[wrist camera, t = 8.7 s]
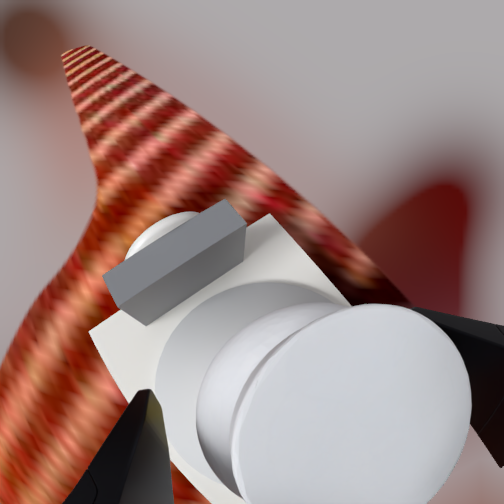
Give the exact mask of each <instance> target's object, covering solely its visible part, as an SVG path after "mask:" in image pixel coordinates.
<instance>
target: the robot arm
mask: <svg viewBox="0 0 504 504" xmlns="http://www.w3.org/2000/svg"><path fill="white" fill-rule="evenodd" d="M410 310H413V311H415V312H417V313H420V314H421V315H423V316H425V317H426V318H428V319H430V320H431V321H432V322H434V323H435V324H436V325H437V326H438V327H439V328H440V329H442V330H443V331H444V332H445V333H446V334H447V336H448V337H449V338H450V339H451V340H452V342H453V343H454V345H455V346H456V348H457V350H458V351H459V353H460V355H461V357H462V359H463V361H464V364H465V367H466V370H467V373H468V376H469V382H470V388H471V400H472V410H471V418H470V424H471V426H472V427H473V429H474V430H475V431H476V433H477V434H478V436H479V437H480V439H481V440H482V442H483V443H484V445H485V446H486V448H487V449H488V451H489V452H490V454H491V455H492V457H493V458H494V460H495V461H496V463H497V464H498V466H499V467H500V468H502V467H503V466H504V326H502V325H497V324H496V325H495V324H492V323H487V322H482V321H478V320H473V319H469V318H464V317H459V316H454V315H450V314H445V313H441V312H436V311H432V310H427V309H423V308H419V307H413V308H411V309H410ZM62 504H174V500H173V490H172V480H171V468H170V455H169V447H168V442H167V436H166V430H165V424H164V418H163V412H162V408H161V405H160V403H159V401H158V400H157V398H156V396H155V394H154V393H153V391H152V390H151V389H142V390H138V391H137V393H136V394H135V396H134V397H133V399H132V400H131V402H130V403H129V405H128V406H127V408H126V409H125V411H124V412H123V414H122V415H121V417H120V418H119V420H118V421H117V423H116V424H115V426H114V428H113V429H112V431H111V432H110V434H109V435H108V437H107V438H106V440H105V441H104V443H103V444H102V446H101V448H100V449H99V451H98V452H97V454H96V455H95V457H94V458H93V460H92V462H91V463H90V465H89V466H88V469H86V471H85V472H84V474H83V476H82V477H81V479H80V480H79V482H78V483H77V485H76V486H75V488H74V489H73V490H72V492H71V493H70V494H69V495H68V497H67V498H66V499H65V501H64V502H63V503H62Z"/></svg>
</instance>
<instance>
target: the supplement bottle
mask: <svg viewBox="0 0 504 504" xmlns="http://www.w3.org/2000/svg"><path fill="white" fill-rule="evenodd" d="M471 410H472V400H471V388H470V382H469V376H468V373H467V370H466V367H465V364H464V361H463V359H462V357H461V355H460V353H459V351H458V350H457V348H456V346H455V345H454V343H453V342H452V340H451V339H450V338H449V337H448V336H447V334H446V333H445V332H444V331H443V330H442V329H440V328H439V327H438V326H437V325H436V324H435V323H434V322H432V321H431V320H430V319H428V318H426V317H425V316H423V315H421V314H420V313H417V312H415V311H413V310H410V309H407V308H404V307H401V306H396V305H388V304H362V305H358V306H353V307H348V306H344V305H339V304H333V303H325V302H312V303H302V304H295V305H291V306H287V307H283V308H280V309H277V310H274V311H272V312H269V313H267V314H265V315H263V316H261V317H259V318H257V319H255V320H254V321H252V322H251V323H249V324H247V325H246V326H245V327H243V328H242V329H241V330H240V331H238V332H237V333H236V334H235V335H233V336H232V337H231V338H230V339H229V340H228V341H227V342H226V343H225V344H224V346H223V347H222V348H221V349H220V351H219V352H218V353H217V355H216V356H215V357H214V359H213V360H212V362H211V364H210V366H209V367H208V369H207V371H206V374H205V376H204V378H203V381H202V383H201V386H200V390H199V394H198V399H197V404H196V429H197V435H198V440H199V443H200V446H201V449H202V452H203V455H204V457H205V459H206V461H207V463H208V464H209V466H210V468H211V469H212V471H213V472H214V473H215V475H216V476H217V477H218V478H219V480H220V481H221V482H222V483H223V484H224V485H225V486H226V487H227V488H228V489H229V490H231V491H232V492H233V493H234V494H236V495H237V496H239V497H240V498H242V499H243V500H244V501H245V502H246V504H427V503H428V502H429V501H430V500H431V499H432V498H433V497H434V496H435V494H436V493H437V492H438V491H439V490H440V488H441V487H442V486H443V485H444V483H445V482H446V480H447V479H448V477H449V476H450V474H451V472H452V471H453V468H454V467H455V465H456V463H457V461H458V459H459V457H460V455H461V453H462V450H463V447H464V445H465V441H466V438H467V434H468V430H469V425H470V418H471Z"/></svg>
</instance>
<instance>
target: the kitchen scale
mask: <svg viewBox="0 0 504 504" xmlns="http://www.w3.org/2000/svg"><path fill="white" fill-rule="evenodd" d="M246 225H247V223H246V222H245V221H244V220H243V219H242V217H241V216H240V215H239V214H238V213H237V212H236V210H235V209H234V208H233V207H232V206H231V205H230V204H229V202H228V201H227V200H226V199H224V200H222V201H220V202H219V203H217V204H215V205H213V206H212V207H210V208H208V209H207V210H205V211H203V212H201V213H197V212H182V213H178V214H174V215H171V216H169V217H167V218H164V219H162V220H160V221H159V222H157V223H155V224H154V225H152V226H151V227H149V228H148V229H147V230H146V231H144V232H143V233H142V234H141V235H140V236H139V237H138V238H137V239H136V241H135V242H134V243H133V244H132V246H131V247H130V249H129V251H128V253H127V255H126V258H125V261H123V262H122V263H120V264H119V265H117V266H116V267H114V268H113V269H111V270H110V271H108V272H107V273H105V274H104V275H102V277H103V279H104V281H105V283H106V285H107V287H108V289H109V291H110V293H111V295H112V297H113V299H114V301H115V303H116V305H117V307H118V308H120V309H121V310H120V311H118V312H117V313H115V314H114V315H112V316H111V317H109V318H108V319H106V320H105V321H103V322H102V323H101V324H99V325H98V326H96V327H95V328H93V329H92V330H90V331H89V333H90V335H91V337H92V340H93V342H94V344H95V346H96V347H97V349H98V351H99V353H100V355H101V357H102V359H103V361H104V363H105V364H106V366H107V368H108V370H109V372H110V373H111V375H112V377H113V378H114V380H115V382H116V383H117V385H118V387H119V388H120V390H121V392H122V393H123V395H124V396H125V398H126V400H127V401H128V403H130V402H131V400H132V399H133V397H134V396H135V394H136V393H137V391H138V390H142V389H151V390H152V391H153V393H154V394H155V396H156V398H157V400H158V401H159V403H160V405H161V408H162V412H163V418H164V424H165V430H166V436H167V442H168V447H169V455H170V459H171V461H172V462H173V463H174V464H175V465H176V466H177V468H178V469H179V470H180V471H181V472H182V473H183V474H184V476H185V477H186V478H187V479H188V480H189V481H190V482H191V483H192V484H193V485H194V486H195V487H196V488H197V489H198V490H199V491H200V492H201V493H202V494H203V495H204V496H205V497H206V498H207V499H208V500H209V501H210V502H211V503H212V504H246V502H245V501H244V500H243V499H242V498H240V497H239V496H237V495H236V494H234V493H233V492H232V491H231V490H229V489H228V488H227V487H226V486H225V485H224V484H223V483H222V482H221V481H220V480H219V478H218V477H217V476H216V475H215V473H214V472H213V471H212V469H211V468H210V466H209V464H208V463H207V461H206V459H205V457H204V455H203V452H202V449H201V446H200V443H199V440H198V435H197V429H196V404H197V399H198V394H199V390H200V386H201V383H202V381H203V378H204V376H205V374H206V371H207V369H208V367H209V366H210V364H211V362H212V360H213V359H214V357H215V356H216V355H217V353H218V352H219V351H220V349H221V348H222V347H223V346H224V344H225V343H226V342H227V341H228V340H229V339H230V338H231V337H232V336H233V335H235V334H236V333H237V332H238V331H240V330H241V329H242V328H243V327H245V326H246V325H247V324H249V323H251V322H252V321H254V320H255V319H257V318H259V317H261V316H263V315H265V314H267V313H269V312H272V311H274V310H277V309H280V308H283V307H287V306H291V305H295V304H302V303H312V302H325V303H333V304H339V305H344V306H348V307H352V306H351V305H350V304H349V303H348V301H347V300H346V299H345V298H344V297H343V296H342V294H341V293H340V292H339V291H338V290H337V288H336V287H335V286H334V285H333V284H332V283H331V282H330V280H329V279H328V278H327V277H326V276H325V275H324V273H323V272H322V271H321V270H320V269H319V268H318V267H317V265H316V264H315V263H314V262H313V261H312V260H311V259H310V257H309V256H308V255H307V254H306V253H305V252H304V251H303V250H302V248H301V247H300V246H299V245H298V244H297V243H296V242H295V241H294V240H293V238H292V237H291V236H290V235H289V234H288V233H287V232H286V231H285V230H284V229H283V227H282V226H281V225H280V224H279V223H278V222H277V221H276V220H275V219H274V218H273V217H272V215H271V214H268V215H266V216H265V217H263V218H261V219H260V220H258V221H257V222H255V223H253V224H252V225H250V226H249V227H247V228H246Z"/></svg>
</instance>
